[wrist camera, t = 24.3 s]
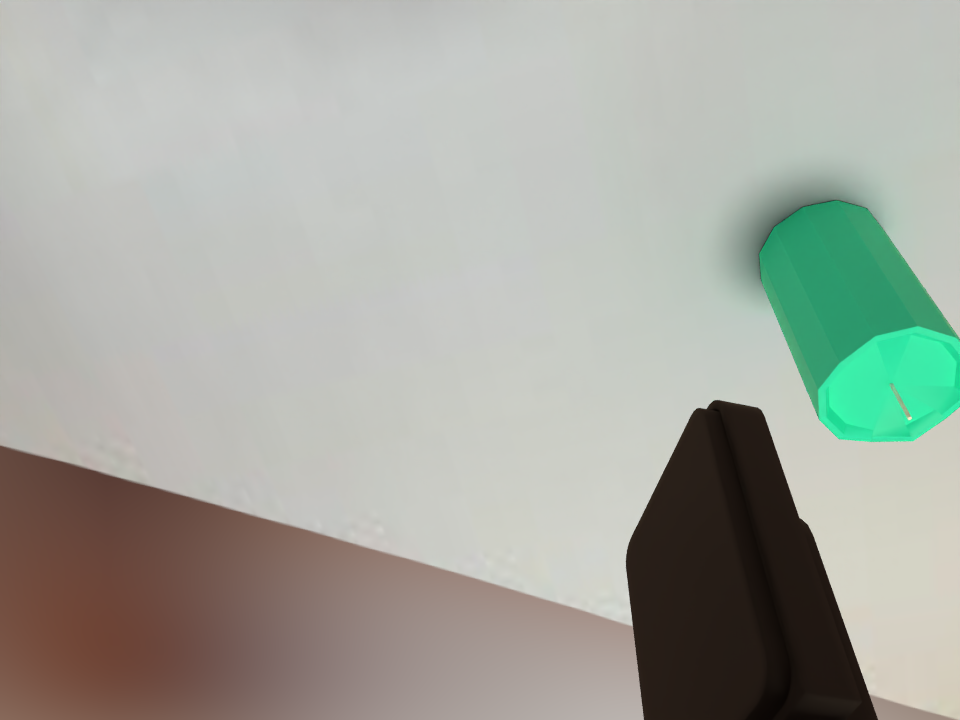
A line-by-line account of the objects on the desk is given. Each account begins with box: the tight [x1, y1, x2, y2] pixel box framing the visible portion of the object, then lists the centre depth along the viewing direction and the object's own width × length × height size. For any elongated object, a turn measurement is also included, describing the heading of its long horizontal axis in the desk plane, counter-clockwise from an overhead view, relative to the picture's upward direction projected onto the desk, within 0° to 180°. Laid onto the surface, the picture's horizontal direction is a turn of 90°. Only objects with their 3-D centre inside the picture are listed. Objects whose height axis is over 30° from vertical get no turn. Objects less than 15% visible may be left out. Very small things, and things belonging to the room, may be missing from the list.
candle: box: [759, 200, 960, 442], centre depth 36 cm, size 6×6×12 cm
